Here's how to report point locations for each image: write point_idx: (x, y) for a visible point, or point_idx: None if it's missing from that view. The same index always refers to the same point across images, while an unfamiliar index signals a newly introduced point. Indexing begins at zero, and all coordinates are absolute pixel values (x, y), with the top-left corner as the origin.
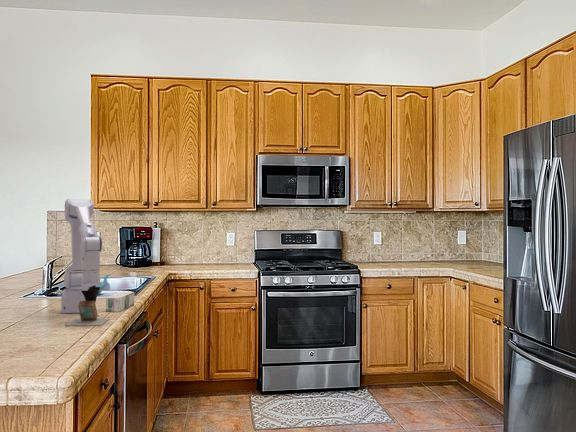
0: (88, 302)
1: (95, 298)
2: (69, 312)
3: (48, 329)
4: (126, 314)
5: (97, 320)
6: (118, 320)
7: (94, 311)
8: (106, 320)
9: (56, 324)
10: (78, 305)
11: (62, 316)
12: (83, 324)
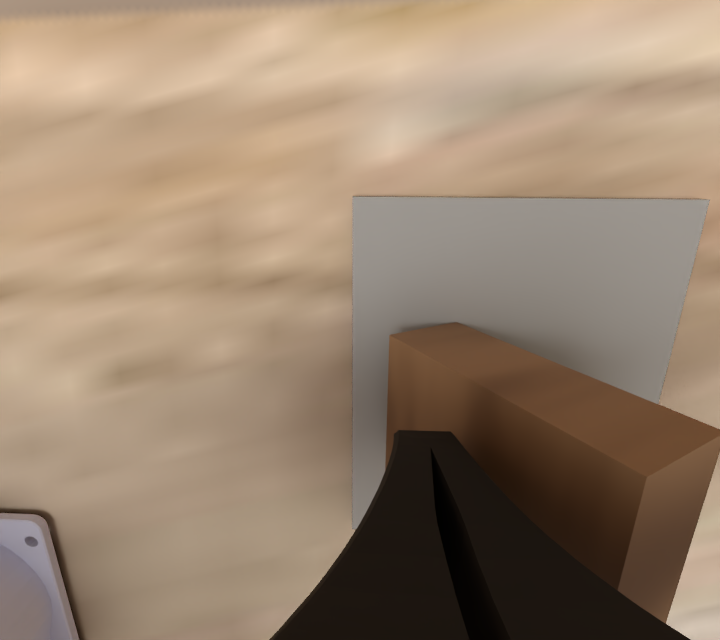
0: (652, 553)
1: (433, 520)
2: (74, 629)
3: (709, 606)
4: (29, 43)
5: (461, 304)
6: (414, 55)
7: (560, 370)
8: (474, 198)
9: None
10: None
11: (202, 636)
12: (645, 392)
